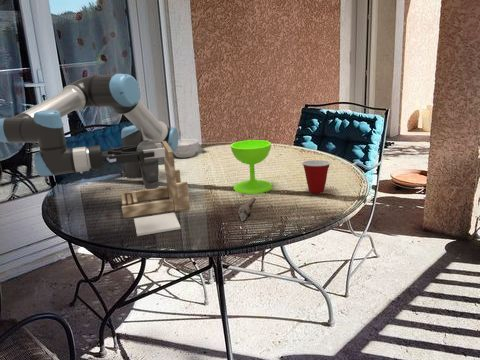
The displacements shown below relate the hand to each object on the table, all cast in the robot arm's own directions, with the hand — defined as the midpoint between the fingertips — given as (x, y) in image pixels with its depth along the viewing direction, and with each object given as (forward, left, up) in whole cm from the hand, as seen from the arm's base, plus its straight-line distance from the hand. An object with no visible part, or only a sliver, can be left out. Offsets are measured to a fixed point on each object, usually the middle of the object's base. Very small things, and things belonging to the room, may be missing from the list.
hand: (163, 149), depth 148 cm
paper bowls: (-37, +89, -26) cm, 99 cm away
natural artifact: (+23, +16, -26) cm, 38 cm away
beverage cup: (-4, -3, -12) cm, 13 cm away
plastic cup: (+42, +40, -25) cm, 63 cm away
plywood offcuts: (-22, +9, -25) cm, 35 cm away
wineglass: (+16, +41, -25) cm, 51 cm away
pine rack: (-14, +14, -25) cm, 32 cm away
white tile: (-4, -3, -25) cm, 26 cm away
